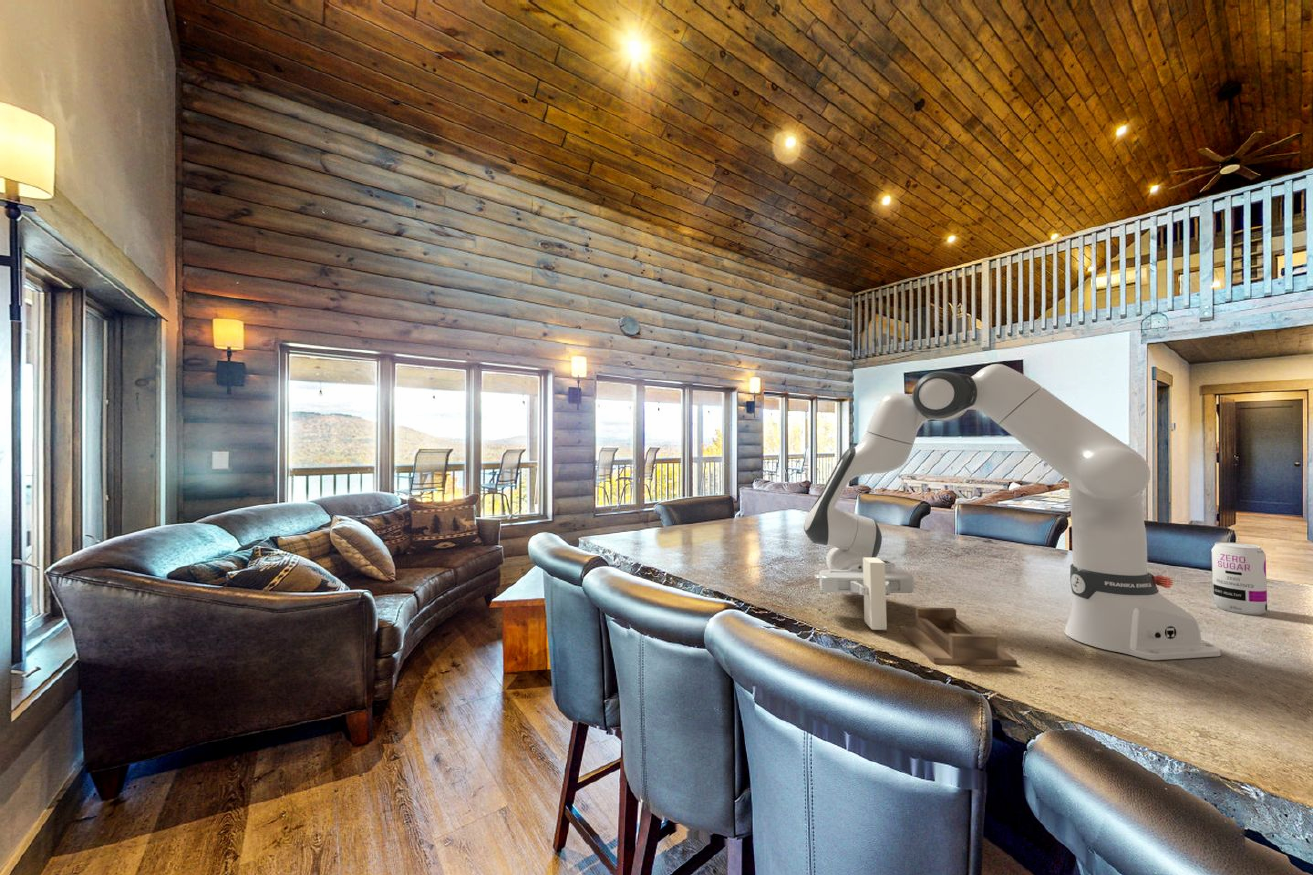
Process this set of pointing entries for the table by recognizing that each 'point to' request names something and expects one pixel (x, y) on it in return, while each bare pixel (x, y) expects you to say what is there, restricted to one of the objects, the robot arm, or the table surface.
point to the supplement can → (1239, 578)
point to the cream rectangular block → (875, 593)
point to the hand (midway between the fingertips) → (875, 591)
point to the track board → (953, 640)
